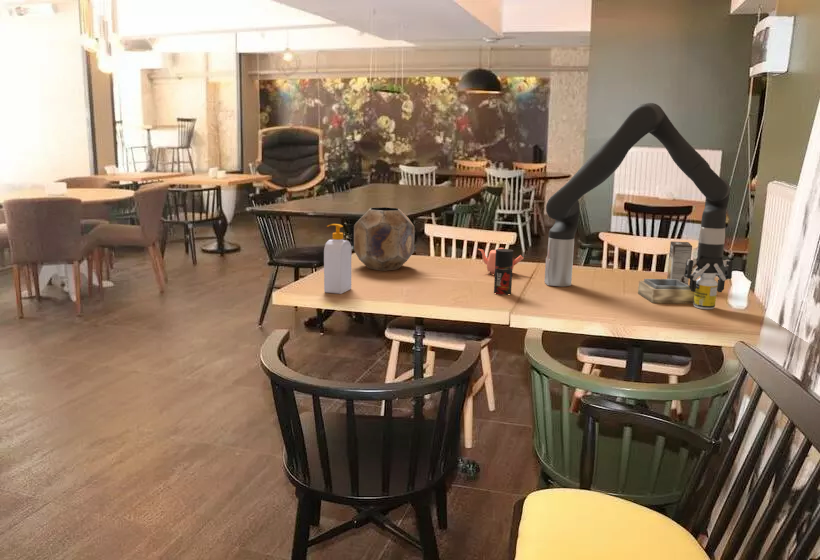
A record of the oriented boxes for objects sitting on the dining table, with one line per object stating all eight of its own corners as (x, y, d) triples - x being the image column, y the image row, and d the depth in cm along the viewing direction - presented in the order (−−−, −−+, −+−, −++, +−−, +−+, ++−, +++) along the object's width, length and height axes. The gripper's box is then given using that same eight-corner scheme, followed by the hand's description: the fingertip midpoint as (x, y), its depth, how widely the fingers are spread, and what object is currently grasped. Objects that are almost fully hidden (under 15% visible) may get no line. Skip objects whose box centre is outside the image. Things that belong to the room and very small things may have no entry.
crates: (652, 302, 224) (653, 286, 223) (637, 293, 238) (639, 277, 237) (694, 303, 225) (696, 287, 224) (677, 293, 238) (679, 278, 237)
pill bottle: (689, 305, 223) (693, 270, 220) (708, 305, 223) (712, 270, 221) (699, 310, 216) (703, 274, 214) (718, 310, 217) (723, 274, 214)
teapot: (506, 269, 277) (507, 244, 275) (523, 274, 267) (525, 249, 265) (476, 272, 271) (477, 246, 268) (493, 277, 260) (494, 251, 258)
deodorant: (512, 292, 236) (514, 249, 233) (509, 295, 231) (511, 252, 228) (495, 290, 238) (497, 248, 235) (492, 294, 233) (494, 250, 229)
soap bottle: (333, 287, 239) (333, 222, 234) (351, 288, 237) (351, 223, 232) (322, 292, 230) (321, 225, 226) (340, 294, 228) (340, 226, 223)
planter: (413, 273, 265) (414, 212, 260) (351, 272, 265) (351, 211, 260) (413, 263, 286) (415, 206, 282) (356, 261, 287) (356, 205, 282)
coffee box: (665, 283, 256) (670, 241, 253) (683, 284, 255) (688, 241, 252) (669, 288, 247) (674, 244, 244) (688, 289, 246) (693, 245, 243)
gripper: (694, 243, 211) (689, 294, 215) (739, 243, 212) (733, 294, 215) (684, 239, 219) (679, 288, 222) (728, 240, 219) (722, 289, 222)
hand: (706, 291), depth 219 cm, fingers open, 8 cm apart
